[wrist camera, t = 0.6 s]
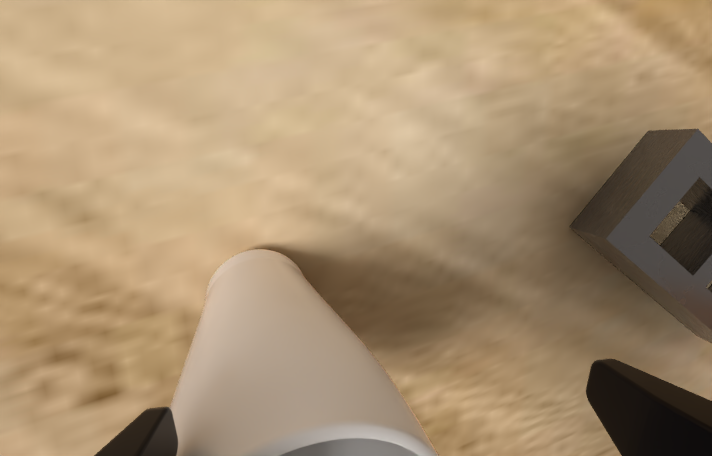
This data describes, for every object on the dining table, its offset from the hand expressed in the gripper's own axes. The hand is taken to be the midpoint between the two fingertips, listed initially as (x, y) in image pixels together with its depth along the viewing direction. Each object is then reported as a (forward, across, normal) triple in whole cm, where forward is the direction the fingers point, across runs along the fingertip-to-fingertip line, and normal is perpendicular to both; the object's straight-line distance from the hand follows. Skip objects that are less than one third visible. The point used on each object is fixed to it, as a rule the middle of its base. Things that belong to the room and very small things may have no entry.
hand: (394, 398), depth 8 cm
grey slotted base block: (+14, -22, +3) cm, 26 cm away
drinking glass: (+14, +5, +4) cm, 15 cm away
